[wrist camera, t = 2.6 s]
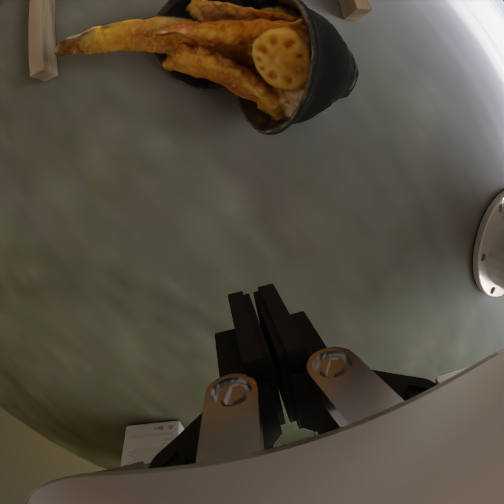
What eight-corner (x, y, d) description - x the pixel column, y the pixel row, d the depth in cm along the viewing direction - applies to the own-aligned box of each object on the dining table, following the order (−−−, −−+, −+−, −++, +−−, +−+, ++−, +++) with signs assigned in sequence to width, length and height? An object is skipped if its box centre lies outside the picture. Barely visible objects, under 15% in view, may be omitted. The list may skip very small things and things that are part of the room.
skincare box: (125, 423, 27) (105, 550, 12) (183, 417, 28) (183, 556, 13) (155, 463, 30) (150, 571, 15) (206, 459, 30) (216, 573, 16)
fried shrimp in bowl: (371, 158, 17) (31, 195, 10) (281, 106, 25) (58, 123, 17) (406, 17, 11) (18, -29, 4) (297, 7, 19) (58, 1, 11)
